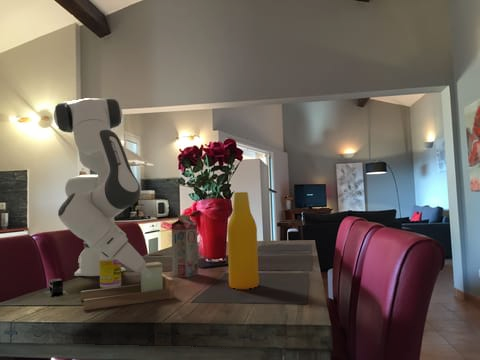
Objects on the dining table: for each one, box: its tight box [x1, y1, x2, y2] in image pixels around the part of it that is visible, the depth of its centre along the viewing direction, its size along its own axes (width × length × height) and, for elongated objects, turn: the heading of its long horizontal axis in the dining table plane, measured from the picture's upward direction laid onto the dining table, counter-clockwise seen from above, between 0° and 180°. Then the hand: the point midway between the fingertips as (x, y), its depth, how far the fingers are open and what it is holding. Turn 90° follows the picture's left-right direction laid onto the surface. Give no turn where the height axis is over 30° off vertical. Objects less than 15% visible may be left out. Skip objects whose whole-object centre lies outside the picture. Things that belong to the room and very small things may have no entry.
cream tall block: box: [140, 261, 164, 292], centre depth 110 cm, size 5×5×9 cm
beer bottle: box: [227, 191, 260, 290], centre depth 119 cm, size 9×9×29 cm
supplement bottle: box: [99, 257, 122, 289], centre depth 125 cm, size 7×7×13 cm
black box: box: [42, 278, 69, 298], centre depth 118 cm, size 12×7×5 cm, turn 38°
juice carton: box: [171, 214, 199, 278], centre depth 142 cm, size 7×7×22 cm
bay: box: [80, 272, 175, 311], centre depth 107 cm, size 12×23×5 cm, turn 116°
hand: (146, 274), depth 109 cm, fingers open, 8 cm apart
